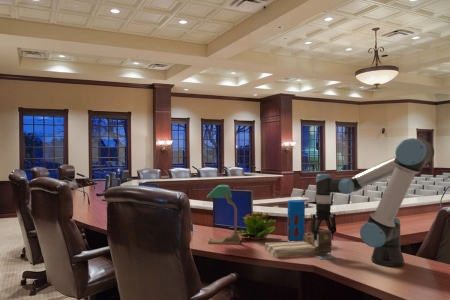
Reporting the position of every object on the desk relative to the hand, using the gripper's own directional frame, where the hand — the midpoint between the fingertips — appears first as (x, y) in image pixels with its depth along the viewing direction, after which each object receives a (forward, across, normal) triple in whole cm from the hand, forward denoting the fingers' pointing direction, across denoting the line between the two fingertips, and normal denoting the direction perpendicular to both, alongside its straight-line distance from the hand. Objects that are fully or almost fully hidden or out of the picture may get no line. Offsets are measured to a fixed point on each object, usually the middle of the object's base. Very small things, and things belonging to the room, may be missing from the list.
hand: (323, 245), depth 190 cm
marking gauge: (+3, 0, -8) cm, 8 cm away
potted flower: (+6, +20, -48) cm, 53 cm away
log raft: (+5, +11, -10) cm, 16 cm away
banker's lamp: (+6, +45, -41) cm, 61 cm away
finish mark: (+6, 0, +2) cm, 6 cm away
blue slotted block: (+6, -2, -38) cm, 38 cm away
